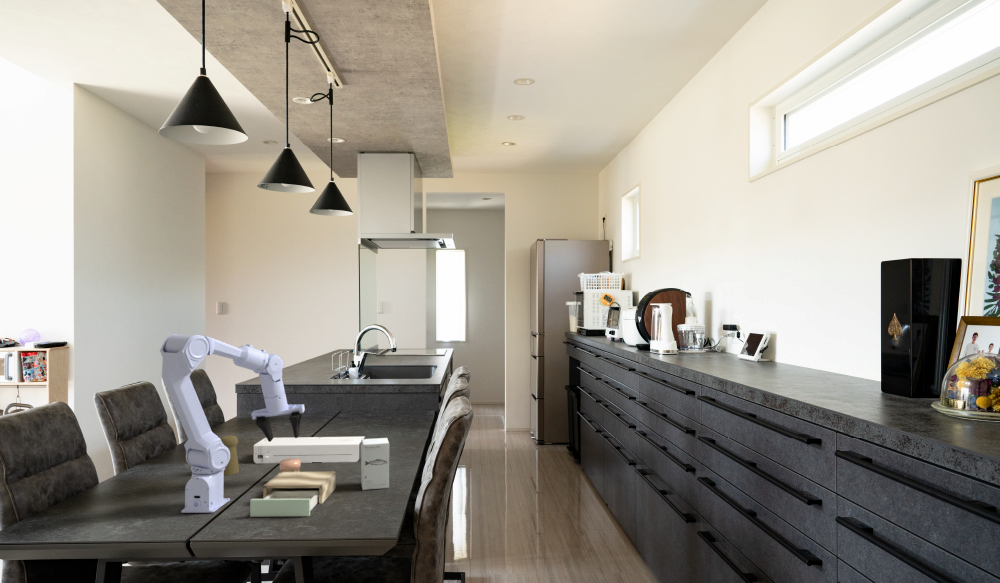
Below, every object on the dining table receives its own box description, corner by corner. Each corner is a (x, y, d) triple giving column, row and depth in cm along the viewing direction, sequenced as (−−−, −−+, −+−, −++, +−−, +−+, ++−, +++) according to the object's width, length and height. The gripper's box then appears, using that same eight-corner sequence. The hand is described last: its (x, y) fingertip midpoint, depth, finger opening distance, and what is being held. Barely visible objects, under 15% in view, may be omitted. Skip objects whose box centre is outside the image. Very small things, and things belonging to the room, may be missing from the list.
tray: (309, 516, 143) (309, 499, 143) (250, 516, 143) (250, 500, 143) (324, 498, 156) (324, 483, 156) (270, 498, 156) (270, 483, 156)
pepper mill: (230, 476, 178) (231, 438, 178) (212, 474, 179) (213, 437, 179) (243, 470, 183) (243, 434, 184) (225, 469, 185) (226, 433, 185)
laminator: (366, 454, 204) (366, 436, 205) (359, 463, 192) (359, 444, 192) (264, 455, 203) (264, 437, 203) (251, 465, 190) (251, 446, 191)
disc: (296, 470, 169) (296, 463, 169) (276, 470, 169) (276, 463, 169) (303, 465, 174) (303, 458, 174) (283, 465, 174) (283, 458, 174)
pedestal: (294, 484, 169) (294, 469, 170) (280, 484, 169) (280, 469, 169) (299, 479, 173) (299, 466, 173) (285, 480, 173) (285, 466, 173)
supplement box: (362, 490, 163) (362, 444, 163) (360, 483, 170) (361, 438, 171) (389, 488, 165) (389, 442, 165) (387, 481, 172) (387, 436, 173)
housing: (322, 503, 153) (322, 485, 153) (263, 503, 153) (263, 485, 153) (335, 488, 166) (335, 471, 166) (281, 488, 165) (281, 471, 165)
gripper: (303, 385, 174) (312, 429, 177) (254, 392, 174) (264, 435, 177) (296, 394, 167) (306, 439, 170) (244, 401, 167) (255, 446, 170)
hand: (284, 438), depth 173 cm, fingers open, 7 cm apart
